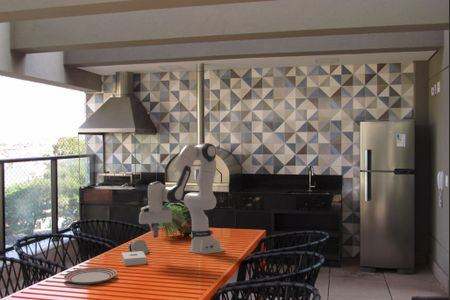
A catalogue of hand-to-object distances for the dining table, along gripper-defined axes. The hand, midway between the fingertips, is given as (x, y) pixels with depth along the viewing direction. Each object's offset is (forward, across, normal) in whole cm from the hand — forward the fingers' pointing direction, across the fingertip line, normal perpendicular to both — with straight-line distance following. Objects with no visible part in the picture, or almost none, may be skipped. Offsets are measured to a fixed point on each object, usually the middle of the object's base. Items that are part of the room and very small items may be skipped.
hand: (155, 230), depth 306 cm
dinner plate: (+18, +40, +33) cm, 55 cm away
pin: (+4, 0, 0) cm, 4 cm away
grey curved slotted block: (+19, +8, -20) cm, 28 cm away
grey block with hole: (+18, +14, 0) cm, 23 cm away
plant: (+19, -25, -65) cm, 72 cm away
